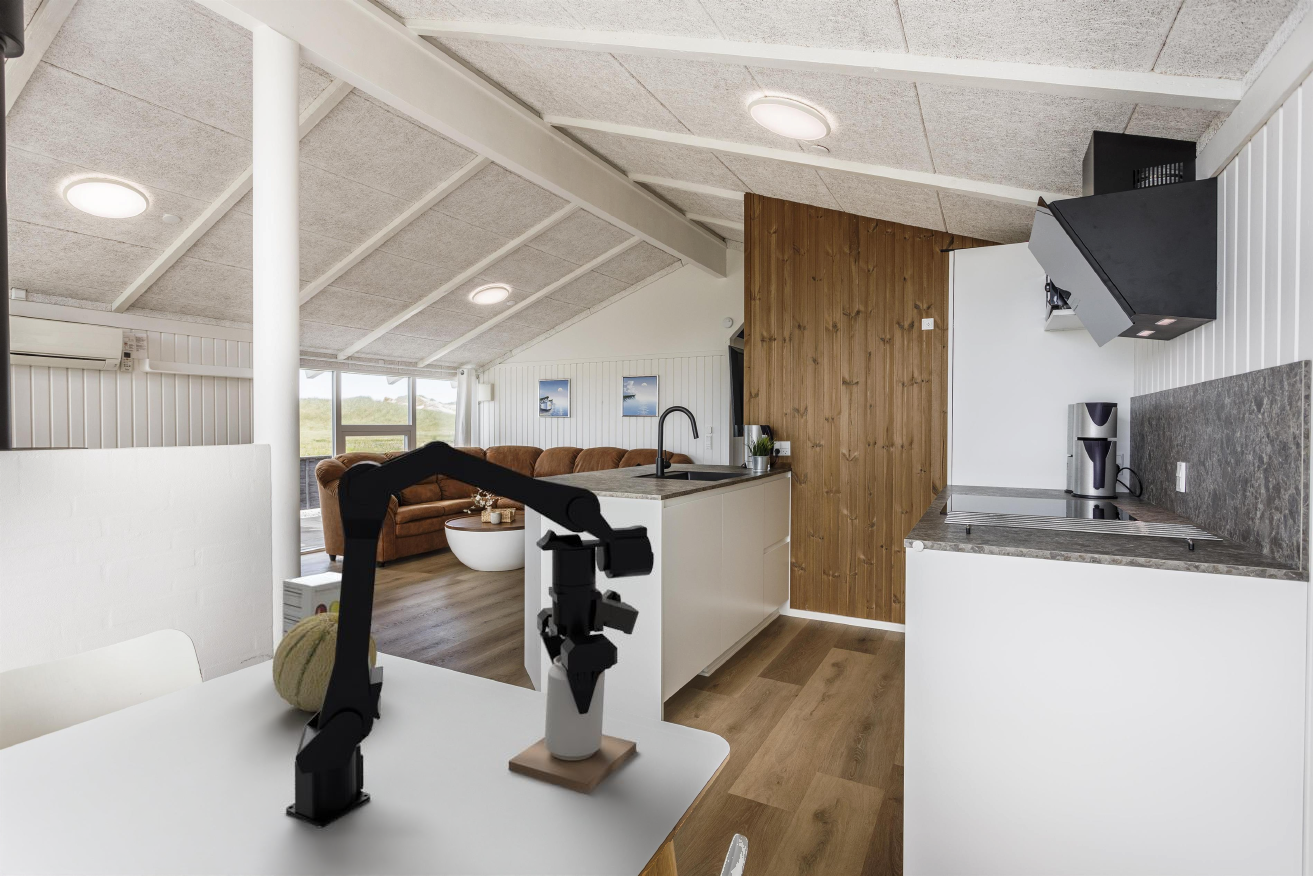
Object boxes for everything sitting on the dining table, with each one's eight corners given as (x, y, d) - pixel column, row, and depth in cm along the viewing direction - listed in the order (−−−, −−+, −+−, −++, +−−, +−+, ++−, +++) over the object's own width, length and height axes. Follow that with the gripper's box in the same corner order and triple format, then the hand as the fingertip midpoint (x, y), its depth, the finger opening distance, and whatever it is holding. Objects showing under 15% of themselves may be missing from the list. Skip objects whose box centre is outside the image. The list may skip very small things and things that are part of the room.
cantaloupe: (277, 697, 107) (276, 605, 107) (375, 683, 113) (375, 596, 113) (266, 736, 94) (266, 631, 93) (378, 717, 100) (378, 618, 100)
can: (597, 765, 83) (602, 669, 83) (538, 761, 83) (543, 665, 83) (604, 739, 90) (608, 651, 91) (550, 735, 91) (554, 648, 91)
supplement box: (310, 684, 113) (309, 586, 112) (280, 674, 117) (279, 580, 117) (361, 667, 121) (360, 575, 121) (330, 658, 126) (330, 570, 125)
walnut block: (587, 800, 79) (587, 784, 79) (508, 776, 84) (508, 760, 84) (636, 757, 89) (636, 742, 89) (563, 738, 95) (563, 724, 95)
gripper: (657, 592, 81) (657, 718, 81) (610, 563, 98) (610, 667, 98) (568, 600, 77) (568, 734, 77) (536, 569, 94) (536, 678, 94)
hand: (574, 699), depth 87 cm, fingers open, 9 cm apart
